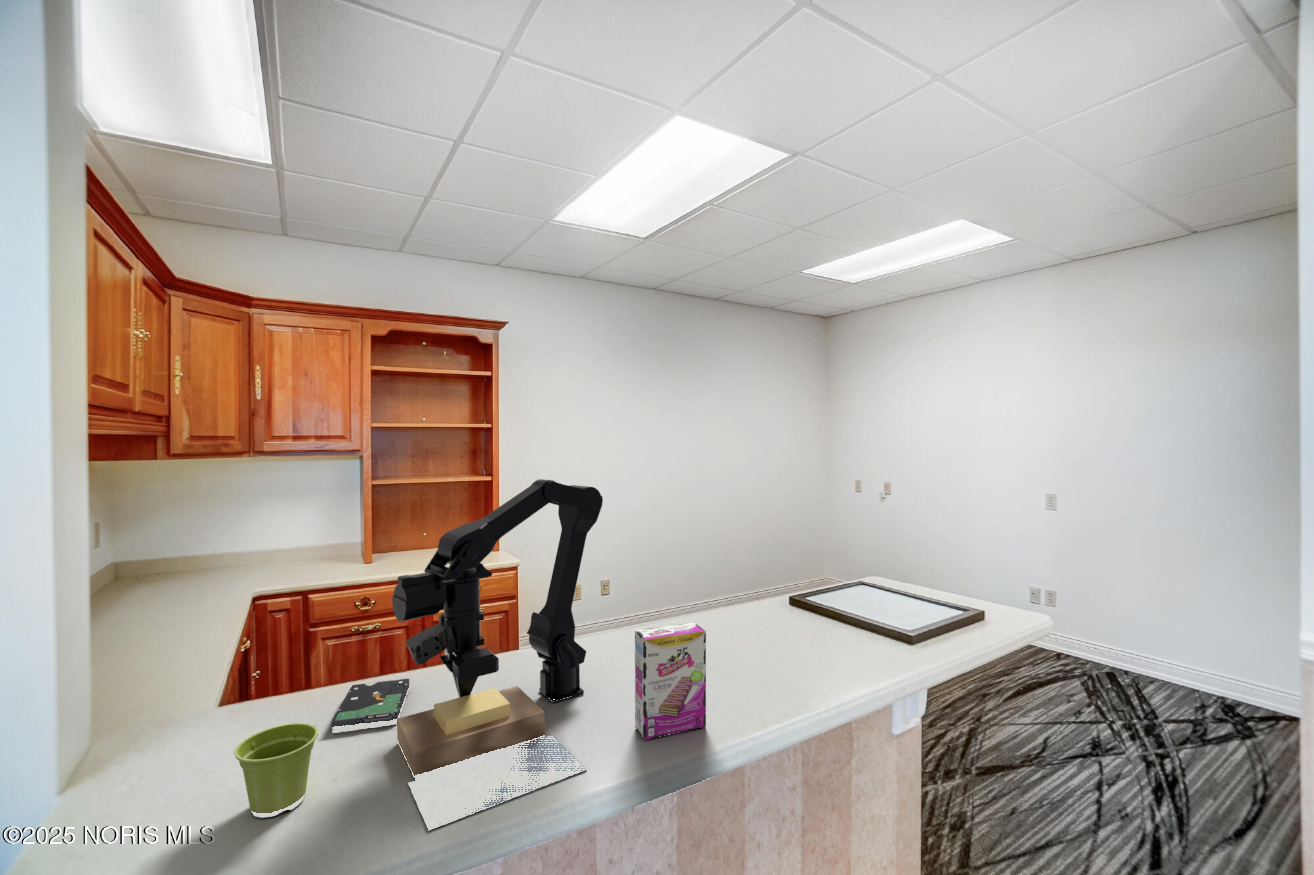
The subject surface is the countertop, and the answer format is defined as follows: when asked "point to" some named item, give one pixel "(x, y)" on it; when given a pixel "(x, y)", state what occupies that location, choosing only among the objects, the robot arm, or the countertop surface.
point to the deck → (467, 734)
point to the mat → (540, 759)
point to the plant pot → (276, 765)
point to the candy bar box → (670, 679)
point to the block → (471, 710)
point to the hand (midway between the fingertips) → (463, 700)
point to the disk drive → (371, 703)
